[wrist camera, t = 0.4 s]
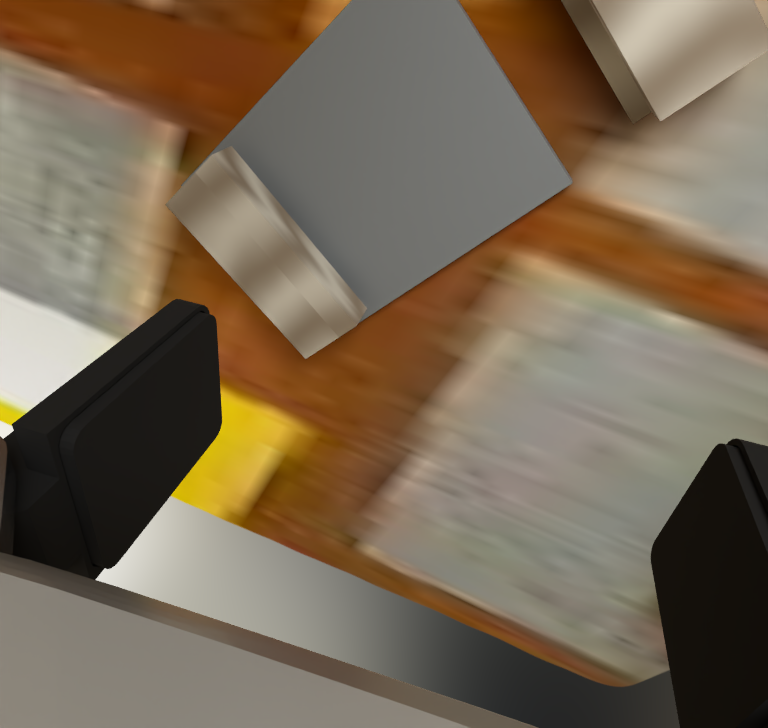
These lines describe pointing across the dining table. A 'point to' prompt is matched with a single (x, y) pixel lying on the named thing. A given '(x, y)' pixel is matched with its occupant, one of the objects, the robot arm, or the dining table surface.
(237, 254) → the fixed plank
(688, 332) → the dining table surface
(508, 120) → the floor panel
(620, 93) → the ash plank
